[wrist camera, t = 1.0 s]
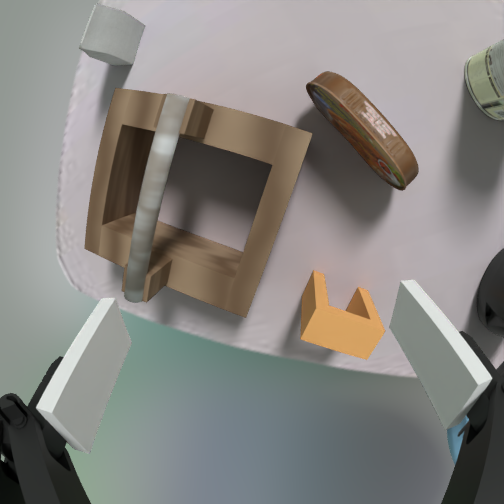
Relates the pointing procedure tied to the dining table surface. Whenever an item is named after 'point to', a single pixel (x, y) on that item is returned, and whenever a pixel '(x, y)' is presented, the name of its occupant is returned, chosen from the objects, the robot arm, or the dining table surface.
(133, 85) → the dining table surface
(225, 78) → the dining table surface
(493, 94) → the coffee can
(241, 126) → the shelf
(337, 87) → the tin
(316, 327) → the orange u-shaped bracket
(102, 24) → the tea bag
